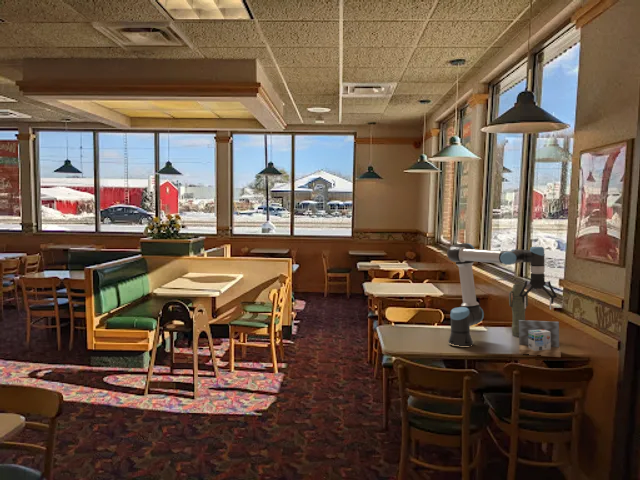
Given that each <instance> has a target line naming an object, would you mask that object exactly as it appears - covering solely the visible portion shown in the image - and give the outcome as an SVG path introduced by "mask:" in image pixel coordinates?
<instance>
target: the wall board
mask: <svg viewBox="0 0 640 480" xmlns="http://www.w3.org/2000/svg"><path fill="white" fill-rule="evenodd" d="M540 329H545V330H547V331H550V332H551V349H550V350H539V351H534V350H532V349H530V348H529V343H528V331H529V330H540ZM518 341H519V342H518V345H519V347H518V348H519V350H518V351H519V352H518V353H519V355H523V354H529V355H528V356H537V355H541V356H540V357H553V358H554V357H555V358H561V357H562V356H561V354H562V353H561V352H562V351H561V348H560V321H548V320H547V321H546V320H529V319H528V320H526V319H525V320H519V337H518Z"/></svg>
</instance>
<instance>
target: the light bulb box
mask: <svg viewBox="0 0 640 480" xmlns="http://www.w3.org/2000/svg"><path fill="white" fill-rule="evenodd" d="M528 343H529V348H530V349H532V350H534V351H539V350H550V349H551V332H550V331H547V330H545V329H540V330H529V331H528Z"/></svg>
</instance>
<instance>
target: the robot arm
mask: <svg viewBox="0 0 640 480" xmlns="http://www.w3.org/2000/svg"><path fill="white" fill-rule="evenodd" d="M545 255H546V254H545V248H544V247H543V246H530V249H518V248H517V249H516V248H514V249H511V250H493V249H492V250H491V249H476V248H475V247H474V245H473V244H471V243H468V242H465V243H464V242H463V243H457V244H456V243H454V244H452V245H450V246H449V247H448V248H447V251H446V256H447V259H448V260H450V261H451V262H453V263H455V265H456V266H457V268H458V273H459V281H460V288H461V298H462V303H461V304H460V306H459V307H454V308H452V309H451V310H450V314H449V318H450V334H449V339H448V342H449V343H451V344H454V345H459V346H471V345H473V344H474V340H473V338H472V336H471V332H470V331H471V330H470V327H471V326H474V325H475V326H476V325H478V324H479V323H481V322H482V321H483V319H484V315H485V313H484V310H483V308H482V307H481V306H480V303H479V302H478V301H477V295H476V287H475V278H474V271H473V265H474V263H475V262H479V263H489V264H490V263H491V264H492V263H493V264H503V265H505V266H507V265H508V266H509V265H510V266H511V265H513V264H520V263H528V264H529V263H530V281H528V280H524V283H523V284H524V285H523V288H522V290H521V292H520V294H519V296H521V297H522V302H523V303H525V309H527V307H526V295H527V294H528V295H529V293H530V292H531V291H532V290H533V289H534V290H535V289H536V290H537V289H538V290H541V289H542V290H543V292H546V294H547V295H548V296H549V310H550V311H551V310H552V305H553V304H554V299H556V298H557V293H556V292H555V290H554V288H553V286H552V285H551V284H552V283H551V281H550V280H549V281H546V280H545V278H546V277H545V276H546V275H545V271H546V269H545ZM529 284H530V287H529V288H528V289H527V290H526V288H527V286H529ZM545 285H547V286H548V287H549V289H550V291H551V292H550V291H549V290H548V289H547V288H546V287H545ZM524 291H526V292H525V293H524V294H523V295H522V293H523V292H524ZM473 346H474V345H473ZM471 347H472V346H471Z"/></svg>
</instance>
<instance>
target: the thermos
mask: <svg viewBox="0 0 640 480" xmlns="http://www.w3.org/2000/svg"><path fill="white" fill-rule="evenodd" d="M523 286H524V285H523V284H522V283H515V284H513V286H512V288H511V291H509V293H508V304H509V307H511V311H512V312H511V313H512V324H511V333H512V334H511V335H512V337H514V338H519V320H526V309H527V307H528V306H529V293H528V294H527V295H526V296H525V297H526V309H525V303H523V302H522V297H521V296H519V294H520V292H521V290H522V288H523ZM526 291H527V290H524V292H523V293H522V295H523V294H524V293H525V292H526Z"/></svg>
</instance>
